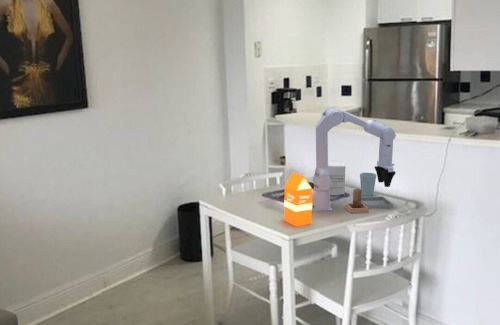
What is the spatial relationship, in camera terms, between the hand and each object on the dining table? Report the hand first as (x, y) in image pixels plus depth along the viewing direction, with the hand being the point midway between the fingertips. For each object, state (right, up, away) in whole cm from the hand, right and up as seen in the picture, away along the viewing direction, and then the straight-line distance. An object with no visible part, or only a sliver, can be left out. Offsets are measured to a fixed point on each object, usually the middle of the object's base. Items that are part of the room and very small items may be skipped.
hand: (384, 184), depth 230 cm
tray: (-3, -10, +4) cm, 11 cm away
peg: (-13, -11, -5) cm, 18 cm away
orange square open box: (-13, -12, -5) cm, 18 cm away
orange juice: (-40, -15, -18) cm, 46 cm away
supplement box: (-19, -6, +23) cm, 30 cm away
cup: (-3, -6, +20) cm, 21 cm away
